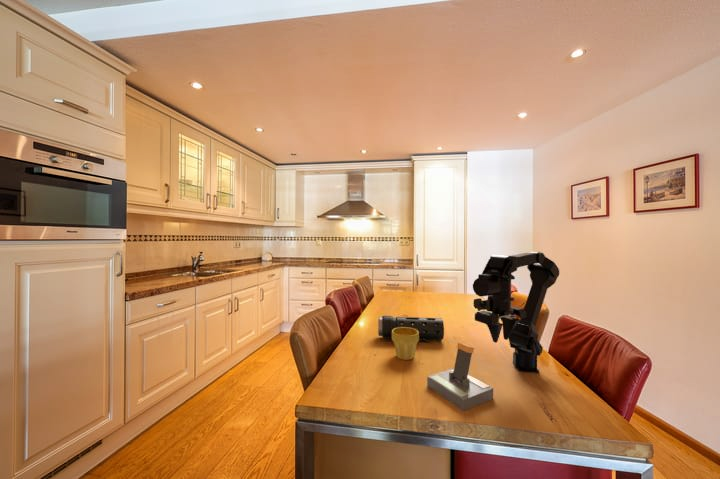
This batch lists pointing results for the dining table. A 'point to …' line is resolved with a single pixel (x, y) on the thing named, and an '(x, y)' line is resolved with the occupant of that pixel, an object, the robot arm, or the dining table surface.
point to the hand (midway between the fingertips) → (500, 340)
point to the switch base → (460, 389)
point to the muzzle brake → (428, 331)
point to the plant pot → (405, 342)
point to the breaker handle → (462, 361)
